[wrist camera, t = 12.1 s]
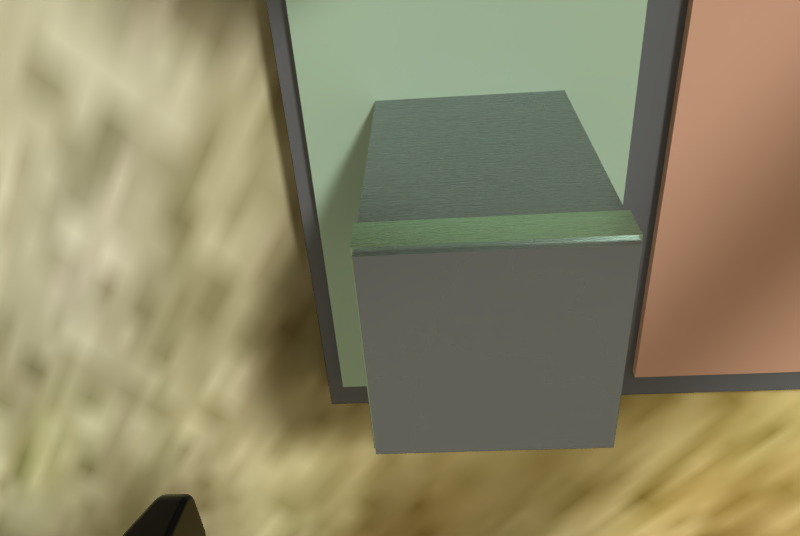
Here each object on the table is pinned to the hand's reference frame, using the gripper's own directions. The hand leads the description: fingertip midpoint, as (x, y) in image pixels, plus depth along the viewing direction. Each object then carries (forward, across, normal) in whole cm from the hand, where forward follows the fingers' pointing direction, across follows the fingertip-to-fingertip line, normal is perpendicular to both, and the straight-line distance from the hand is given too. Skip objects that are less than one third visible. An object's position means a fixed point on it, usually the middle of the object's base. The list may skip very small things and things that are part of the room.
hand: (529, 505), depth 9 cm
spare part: (+10, 0, 0) cm, 10 cm away
